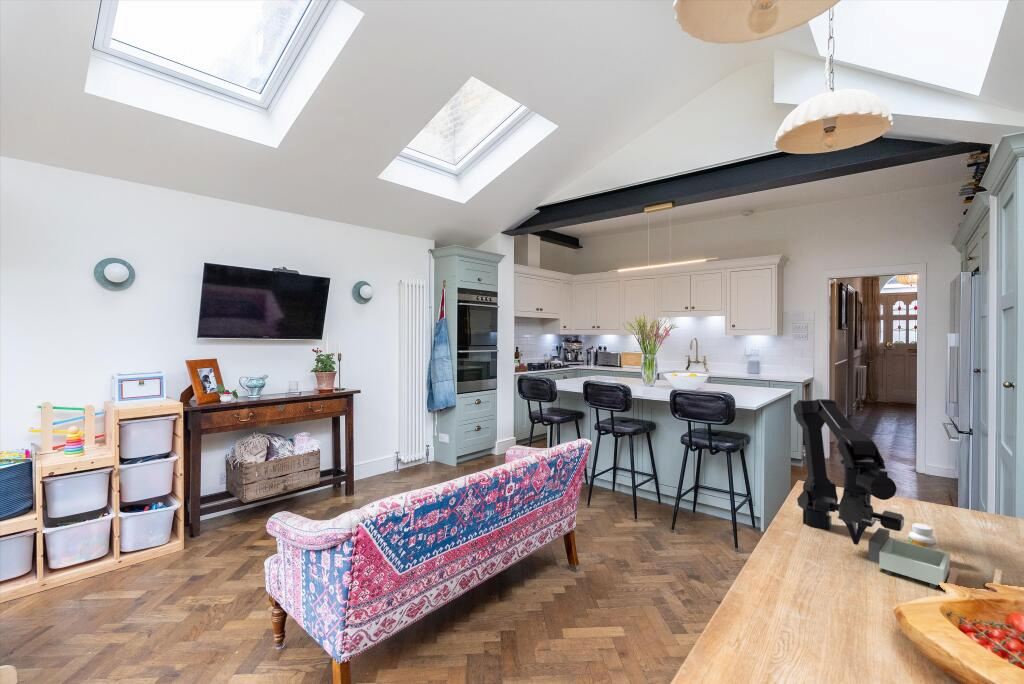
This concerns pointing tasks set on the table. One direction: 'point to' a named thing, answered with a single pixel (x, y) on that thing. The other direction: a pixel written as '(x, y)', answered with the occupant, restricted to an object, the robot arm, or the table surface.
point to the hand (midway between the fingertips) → (856, 544)
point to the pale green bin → (908, 558)
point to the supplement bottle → (922, 536)
